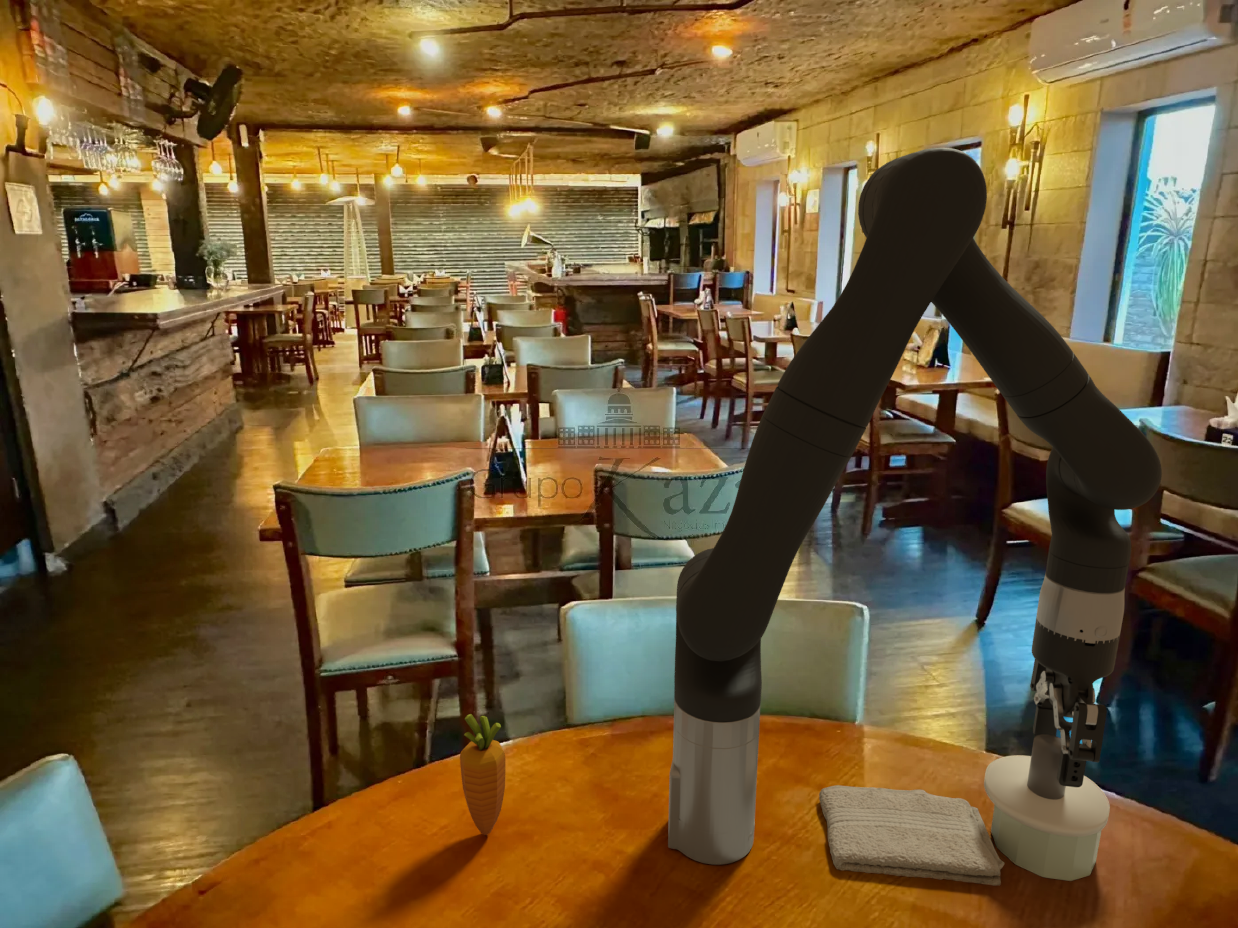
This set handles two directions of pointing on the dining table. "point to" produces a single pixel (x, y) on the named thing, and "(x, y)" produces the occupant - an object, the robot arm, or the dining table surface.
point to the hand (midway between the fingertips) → (1055, 759)
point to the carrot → (483, 774)
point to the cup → (1044, 849)
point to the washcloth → (908, 834)
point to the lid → (1045, 793)
